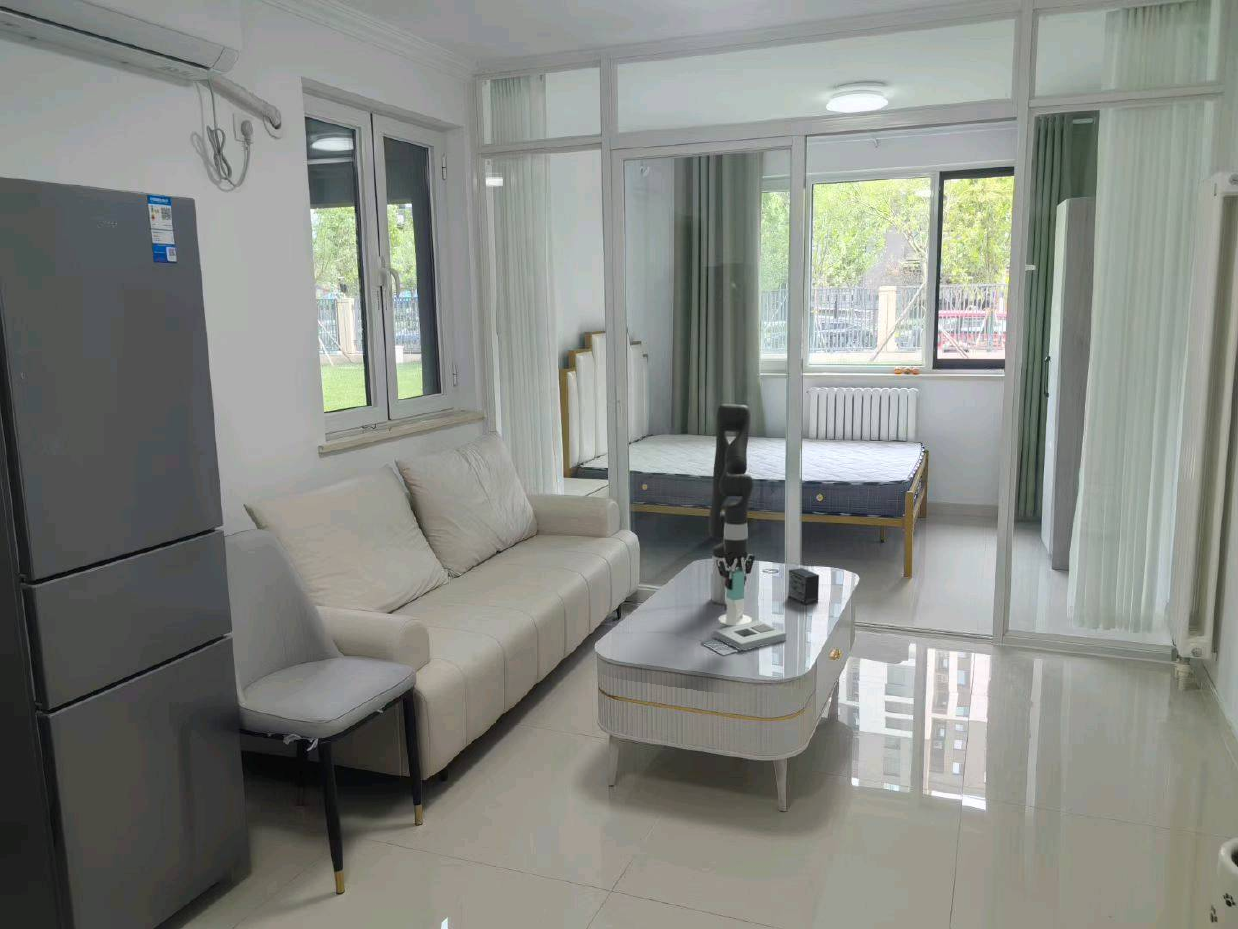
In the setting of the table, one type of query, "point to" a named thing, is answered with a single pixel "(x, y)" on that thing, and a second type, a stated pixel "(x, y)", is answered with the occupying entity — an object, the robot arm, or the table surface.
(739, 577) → the teal knobbed block
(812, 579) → the small box
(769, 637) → the plate
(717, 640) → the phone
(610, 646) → the table surface
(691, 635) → the table surface
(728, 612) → the white curved stand
